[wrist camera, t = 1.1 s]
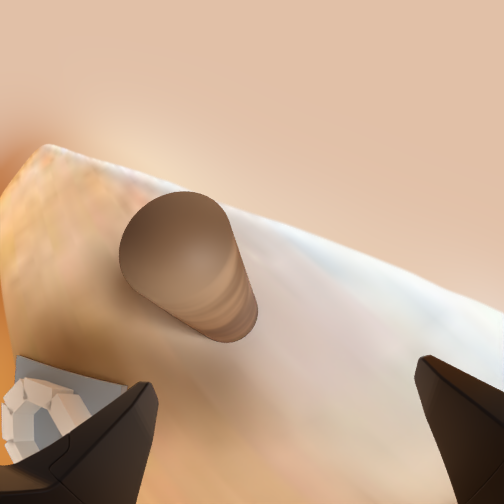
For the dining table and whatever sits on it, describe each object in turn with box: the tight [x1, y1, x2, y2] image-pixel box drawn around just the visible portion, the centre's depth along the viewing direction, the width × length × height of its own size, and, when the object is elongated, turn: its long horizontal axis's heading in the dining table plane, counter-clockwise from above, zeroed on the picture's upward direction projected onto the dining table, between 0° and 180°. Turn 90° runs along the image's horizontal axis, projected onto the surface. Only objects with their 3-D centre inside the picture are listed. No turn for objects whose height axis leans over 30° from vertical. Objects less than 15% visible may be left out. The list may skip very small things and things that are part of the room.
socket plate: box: [2, 355, 127, 464], centre depth 17 cm, size 14×14×4 cm
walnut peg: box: [119, 192, 258, 343], centre depth 18 cm, size 5×5×12 cm
